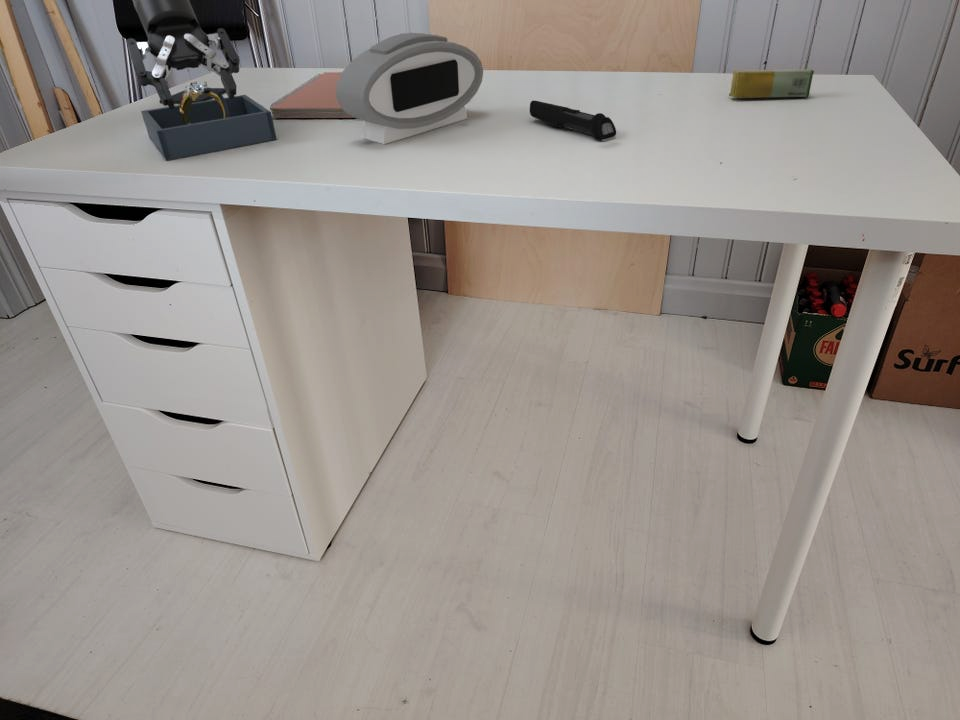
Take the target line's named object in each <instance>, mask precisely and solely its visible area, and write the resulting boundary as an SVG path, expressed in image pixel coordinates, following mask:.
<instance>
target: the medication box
mask: <svg viewBox="0 0 960 720" xmlns="http://www.w3.org/2000/svg"><path fill="white" fill-rule="evenodd" d="M814 74H815V70H814V69H811V68H810V69H809V68H801V69H798V68H797V69H749V70H747V69H746V70H745V69H744V70H743V69H742V70H733V71H732V79H731V80H732V81H731V86H730V92H729V95H728V96H729V97H732V98H736V99H739V98H740V99H742V98H743V99H744V98H746V99H747V98H809V97H810V93H811V87H812V81H813V76H814Z"/></svg>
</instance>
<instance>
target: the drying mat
mask: <svg viewBox="0 0 960 720" xmlns="http://www.w3.org/2000/svg"><path fill="white" fill-rule="evenodd" d="M212 88H213V89H216V90H217V91H219V92H220V93H221V94H222V95H223V94H224V93H226V91H225V88H224V87H212ZM185 90H186V89H184V90H182V91H180V92H176V93H174V94H171V96H172V98H173V101H174V104H176V105H180V99H181V96H182V94H183V93H184V92H185ZM190 95H191V94H190ZM190 95H189V96H190ZM189 96H188V97H189ZM188 97H187V98H188ZM212 99H214V98H213V97H211V96H210V95H207V94H204V93H203V94H200V95H199V96H198V97H197V98H196V99H195V100H194V101H193V103H196V102H202V101H208V100H212ZM158 101H159V104H162V103H161V100H160V99H159V100H158Z"/></svg>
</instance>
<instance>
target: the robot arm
mask: <svg viewBox="0 0 960 720" xmlns="http://www.w3.org/2000/svg"><path fill="white" fill-rule="evenodd" d="M132 3H133V7H134V10H135V11H136V13H137V15H138V18H139V20H140V22H141V25H142V27H143V30H144V32H145V34H146V37H147V41H141V42H137V40H136V39H134V38H131V37H130V38H127V40H126V44H127V48H128V53H129V57H130V61H131V63H132V66H133V69H134V73H135V76H136V78H137V82H138V84H139V85H140V86H141V87H147V86H152V87H154V88H155V90H156V93H157V95H158V98H159V100H161V103H160V104H162V105H163V106H164V107H169V109H175V108H174V106H175V103H174V101H173V98H172V94H171V91H170V89H169V86H168V83H167V81H166V80H167V79H168V78H169V77H170V74H171V72H172V70H173V69H175V70H176V71H182V70H184V69H187V68H189V69H196V68H199V67H200V66H201V67H202V68H204V69H206V70H207V71H208V72H213V73H214V74H216V75H218V76H219V77H220V81H221V84H222V86H223V88H225V91H226V92H225V93H226V95H227V97H228V98H229V100H231V99H234V96H237V87H238V86H237V83H236V81H235V79H234V77H233V74H238V73H239V72H240V57H239V55H238V54H237V51H236V49H235V47H234V45H233V43H232V41H231V39H230V37H229V35H228V33H227V31H226V30H225V29H224V28H223V27H219V28H218V29H217V30H216V32H214V33H208V34H207V33H206V32H205V31H204V30H202V28H201V25H200V23H199V20H198V18H197V15H196V13H195V10H194V9H193V6H192V4H191V0H132ZM210 45H212V46H214V47H215V49H217V51H221V53H222V55H223V57H224V58H222V57H221V56H219V55H217V53H216V52H215V50H213V49H212V48H211V47H210ZM147 53H150V54H151V55H152V56H153V57H155V58H156V62H155V64H154V67H153V69H152V71H151V70H150V71H149V70H147V69H146V67H145V64H144V60H145V59H146V58H147Z"/></svg>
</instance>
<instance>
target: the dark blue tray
mask: <svg viewBox="0 0 960 720" xmlns="http://www.w3.org/2000/svg"><path fill="white" fill-rule="evenodd" d="M224 99H225V101H226V103H227V105H228V108H229V118H223V113H222V109H221V107H220V105H219V103H218V102H217V101H216V100H215V99H209V100H207V101H202V102H196V103H192V104H191V106H190V108H189V112H188V117H189V121H190V124H188V125H184V123H183V121H182V119H181V115H180V104H176V105H174V108H175V109H169V107H168V106H164V107H158V108H152V109H146V110H141V111H140V113H141V116H142V119H143V122H144V125H145V128H146V131H147V134H148V138H149V140H150V141H151V142H152V143H153V145H154V146H155V148H156V149H157V150H158V152H159V153H160V155H161V156H162V157H163V158H164V160H165V161H166V162H167V161H172V160H177V159H183V158H188V157H192V156H193V157H194V156H198V155H203V154H209V153H213V152H219V151H224V150H230V149H235V148H240V147H244V146H250V145H255V144H260V143H266V142H272V141H277V134H276V129H275V125H274V118H272V112H271V110H270V109H268V108H266V107H264V106H263V105H262V104H260V103H259V102H257V101H255V100H254V99H252V98H251V97H249V96H248V95H247V94H241V95H234V99H231V100H229V98H228V96H227V97H224Z"/></svg>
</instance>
